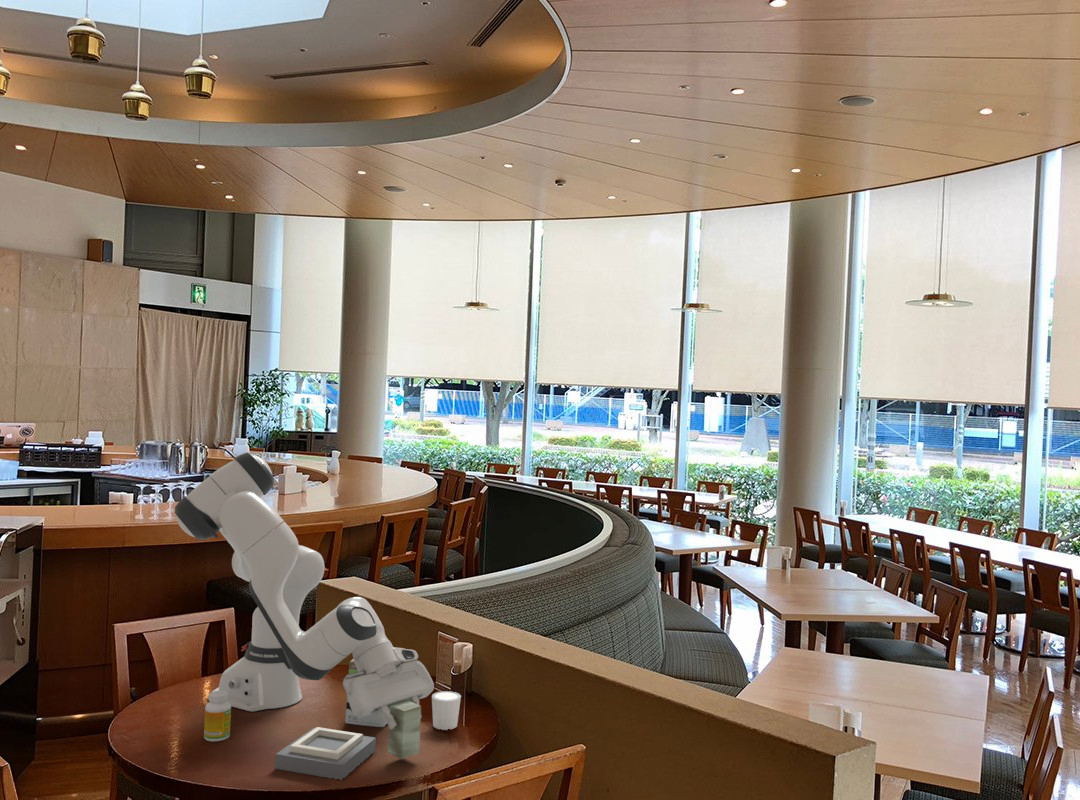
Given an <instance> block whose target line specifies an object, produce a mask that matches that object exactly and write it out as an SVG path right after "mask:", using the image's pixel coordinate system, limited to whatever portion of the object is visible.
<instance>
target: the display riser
mask: <svg viewBox="0 0 1080 800" xmlns="http://www.w3.org/2000/svg"><path fill="white" fill-rule="evenodd" d="M376 739H377V738H376V737H375V736H367V735H364V734H363V733H357V732H350V731H346V730H345V731H344V730H338V729H334V728H333V729H332V728H325V727H321V726H316V727H312V728H311V729H310V730H309V731H307V732H306V733H304V734H303V735H301V736H300V737H298V738H297V739H295V740H294V741H292V742H291V743H290V744H288V745H287V746H285V747H283V748H282V749H281V750H279V751H278V752H276V753H275V760H274V761H275V763H274V765H275V766H274V769H275V770H279V771H280V770H281V771H287V772H290V773H291V772H293V773H298V774H305V775H308V776H309V775H310V776H313V777H314V776H316V777H321V778H326V777H327V779H332V778H334V779H333V780H337V779H340V780H339V781H343V780H344V779H345V778H346V777H347V776H348V775H350V774H351V773H352V772H353V771H354V770H356V769H357V768H358V767H359V766H360V765H361V764H362V763H364V762H365V761H366V760H367V759H368V758H370V757H371V756H372V755H373V754H375V752H376V743H377V741H376ZM371 754H372V755H371ZM370 755H371V756H370ZM366 758H367V759H366ZM365 759H366V760H365ZM364 760H365V761H364ZM363 761H364V762H363ZM360 763H361V764H360ZM357 766H358V767H357ZM356 767H357V768H356ZM350 772H351V773H350ZM349 773H350V774H349ZM343 778H344V779H343ZM342 779H343V780H342Z"/></svg>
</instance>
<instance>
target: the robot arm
mask: <svg viewBox="0 0 1080 800" xmlns="http://www.w3.org/2000/svg"><path fill="white" fill-rule="evenodd" d="M233 459H234V460H231V461H229V462H228V463H226V464H224V465H223V466H221V467H219V468H218V469H216V470H215V471H214V472H212V473H211V474H210V475H208V477H207V478H205V479H204V480H203V481H202V482H201V483H199V484H198V485H197V486H196V487H194V489H193V490H191V491H190V492H189V494H187V495H186V496H185V495H184V496H183V497H181V499H179V501H178V502H177V504H176V505H175V506H174V514H175V517H176V518H175V519H176V522H177V523H178V526H179V527H180V528H181V529H182V531H183V532H184V533H186V534H187V535H189V536H190V537H193V538H195V539H196V540H203V541H204V540H205V541H206V540H209V539H211V538H215V539H219V538H220V536H219V535H218V534H217V533H220V534H221V535H222V536H223V537H224V539H225V540H226V541H227V543H228V544H229V545H230V546H231V547H232V549H233V551H234V552H233V554H232V558H231V567H232V570H233V571H232V572H233V573H234V574H235V575H236V576H237V577H238V578H241V579H242V580H244V581H245V582H249V583H248V587H249V591H250V594H251V595H252V596H251V597H252V598H253V600H254V603H255V604H256V605H257V607H256V608H255V610H254V611H253V613H252V623H251V625H252V628H251V640H250V641H249V642H246V644H245V645H243V646H241V648H242V649H241V650H240V651H241V652H243V651H245V653H244V656H243V657H242V658H240V659H239V660H237V661H236V662H234V664H232V665H231V666H229V667H227V669H225V670H224V671H223V673H222V674H221V676H220V681H219V684H218V687H217V688H214V689H213V690H212V691H211V692H213V691H227V692H228V700H227V701H229V702H230V703H231V708H232V707H233V708H237V709H240V710H245V711H247V712H258V711H262V710H269V709H278V708H279V709H280V708H284V707H288V706H289V707H290V706H292V705H294V704H297V703H298V702H300V701H301V700H302V698H303V694H302V690H301V686H300V679H302V680H306V681H307V680H308V681H320V680H322V679H323V678H324V677H325V676H326V675H328V673H330V672H331V671H332V669H333V668H334V667H335V666H337V665H338V664H339V663H341V662H342V661H344V659H346V658H347V657H348V656H350V655H351V654H352V657H353V658H354V663H355V665H356V667H357V669H358V672H355V673H351V674H349V673H348V674H346V675H345V677H344V678H343V679H342V686H343V688H344V691H345V692H346V698H347V697H348V701H349V704H350V707H351V710H352V712H353V714H354V715H355V716H356V717H358V718H361V717H364V716H367V715H370V714H374V713H378V715H379V717H380V718H381V719H383V720H384V721H385V722H387V725H388V728H389V727H390V729H394V728H397V727H398V726H399V724H400V723H399V721H398V718H397V717H393V716H392V715H391V714H390V713H389V712H388V710H389V709H390V705H393V704H396V703H399V702H403V701H406V700H408V701H410V702H413V703H415V704H418V705H420V700H422V699H425V698H427V697H428V696H429V695H430V694H431V693H432V692H433V691H434V687H435V683H434V681H433V679H432V677H431V675H430V673H429V671H428V670H427V668H426V666H425V665H424V664H423V663H422V662H421V661H420V660H418V658H419V654H418V652H417V651H416V650H414V649H406V648H405V649H401V648H402V647H397V646H396V647H394V646H393V644H392V642H391V640H389V638H388V637H387V635H386V632H385V628H384V625H383V624H382V621H381V619H380V618H379V616H378V614H377V613H376V611H375V610H374V608H373V606H372V605H371V604H370V602H369V601H368V600H367V599H366V598H364V597H361V596H353V597H348V598H347V599H344V600H343V601H341V602H339V604H338V605H337V606H336V607H335V608H334V609H333V610H331V611H329V612H328V613H327V614H326V615H325V616H324V617H322V618H321V619H320V620H319V621H318V622H316V623H314V625H313V626H311V627H310V628H309V629H307V630H306V631H304V630H302V629H301V628H300V625H299V624H300V615H301V609H302V607H303V604H304V601H305V598H306V597H307V596H308V594H309V593H310V592H311V591H312V590H313V589H315V588H316V587H317V586H318V585H319V584H320V583H321V581H322V579H323V577H324V574H325V568H326V566H325V561H324V558H323V556H322V554H321V553H320V552H318V551H316V550H314V549H313V548H309V547H307V546H304V545H302V544H301V545H300V544H299V540H298V537H296V534H295V532H294V531H293V530H292V529H291V527H290V526H289V525H288V524H287V523H286V521H285V520H284V519H283V518H282V517H281V516H280V514H278V513H277V512H276V510H275V509H274V508H273V507H272V506H271V505H269V504H268V503H267V502H266V501H265V500H264V499H263V498H262V497H263V496H266V495H267V494H268V493H269V492H270V490H271V489H272V488H273V487H274V484H275V478H274V476H273V471H272V470H271V467H270V466H269V464H268V463H267V462H266V461H265V460H264V459H263V458H261V457H260V456H258V455H256V454H255V453H253V452H252V453H251V452H243V453H242V454H240V455H237V456H235V457H234V458H233ZM393 647H394V648H393ZM299 678H300V679H299ZM207 699H208V701H209V697H208V698H207ZM421 718H423V717H422V715H421Z"/></svg>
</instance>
